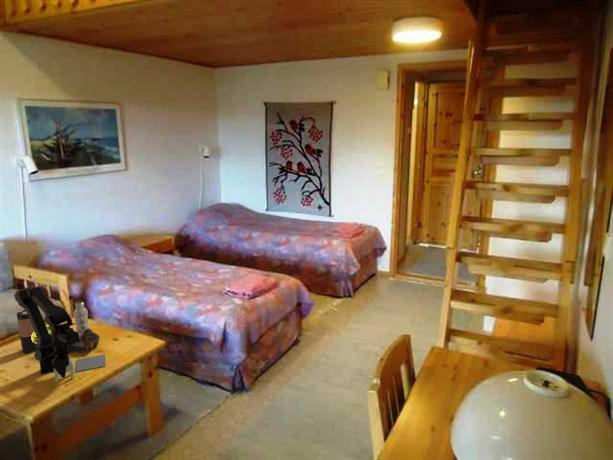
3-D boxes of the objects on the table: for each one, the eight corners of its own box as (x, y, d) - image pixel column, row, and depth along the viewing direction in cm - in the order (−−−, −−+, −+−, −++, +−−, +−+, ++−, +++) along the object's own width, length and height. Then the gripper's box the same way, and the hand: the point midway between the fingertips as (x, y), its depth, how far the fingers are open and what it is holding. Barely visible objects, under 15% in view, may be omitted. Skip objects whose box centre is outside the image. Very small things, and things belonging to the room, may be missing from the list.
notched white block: (55, 382, 190) (53, 367, 188) (56, 376, 194) (54, 361, 193) (74, 378, 192) (72, 363, 191) (74, 373, 197) (72, 358, 195)
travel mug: (38, 352, 216) (33, 313, 212) (20, 355, 214) (14, 315, 209) (41, 345, 223) (36, 307, 219) (24, 348, 221) (18, 310, 216)
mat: (75, 372, 197) (75, 371, 197) (77, 360, 208) (77, 359, 208) (105, 366, 202) (105, 365, 202) (105, 354, 213) (105, 354, 213)
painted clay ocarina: (97, 339, 230) (96, 324, 228) (102, 352, 218) (101, 337, 216) (76, 342, 225) (75, 328, 223) (80, 357, 212) (79, 341, 210)
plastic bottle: (77, 337, 232) (73, 301, 227) (91, 335, 233) (87, 299, 229) (75, 343, 225) (70, 305, 221) (89, 341, 227) (85, 304, 223)
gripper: (80, 344, 184) (84, 378, 188) (82, 327, 201) (85, 358, 204) (49, 349, 180) (54, 384, 183) (53, 331, 197) (58, 364, 200)
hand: (64, 372), depth 193 cm, fingers open, 9 cm apart
